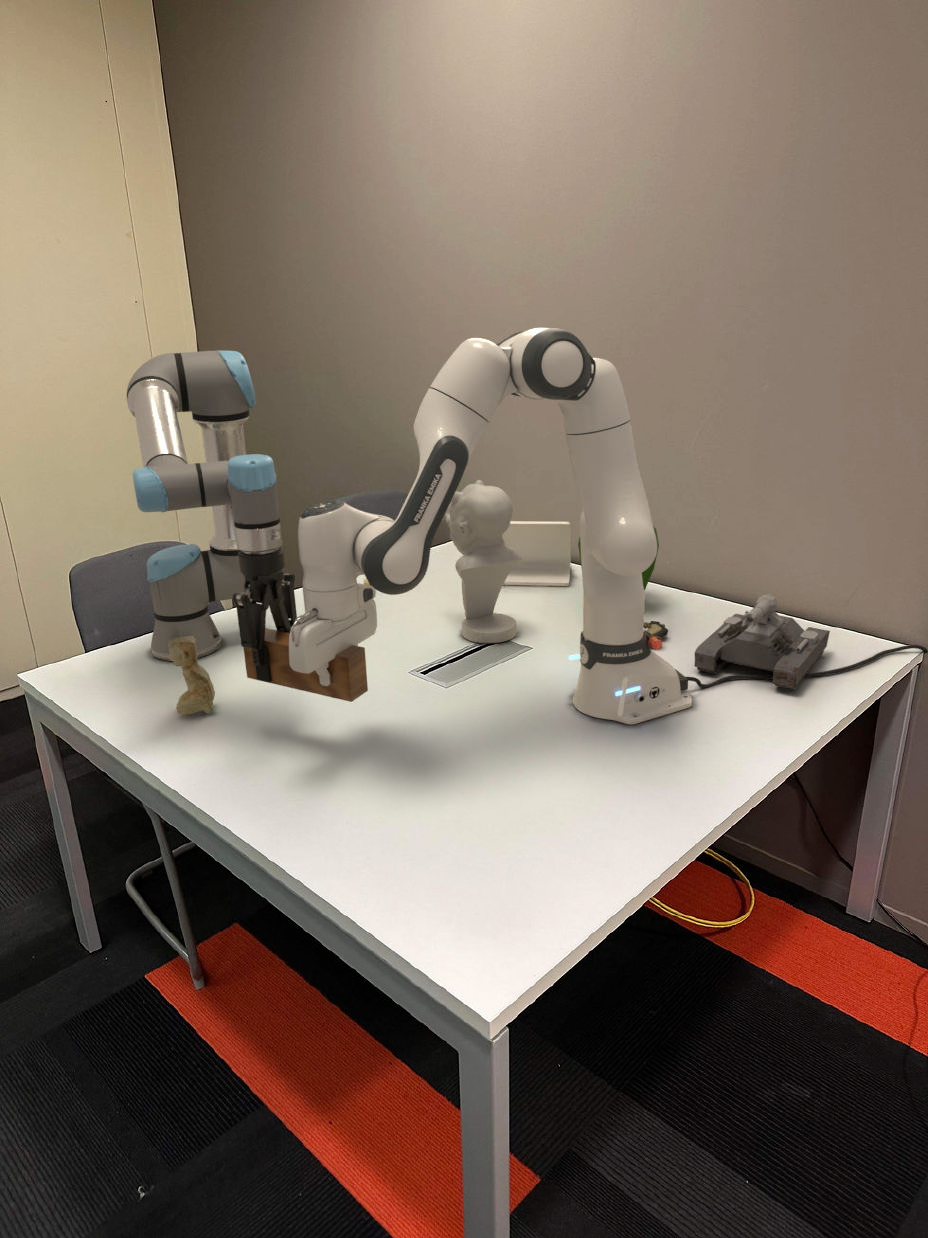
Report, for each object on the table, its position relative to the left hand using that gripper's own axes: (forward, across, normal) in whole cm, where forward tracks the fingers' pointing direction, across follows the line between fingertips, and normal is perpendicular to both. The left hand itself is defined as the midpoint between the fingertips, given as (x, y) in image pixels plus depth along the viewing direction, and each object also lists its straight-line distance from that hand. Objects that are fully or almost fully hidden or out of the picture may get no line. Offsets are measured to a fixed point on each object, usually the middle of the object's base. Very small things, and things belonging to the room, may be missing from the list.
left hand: (274, 674), depth 152 cm
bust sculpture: (+12, +59, -9) cm, 61 cm away
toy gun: (+12, +85, +32) cm, 91 cm away
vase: (+12, +89, -33) cm, 96 cm away
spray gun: (+12, +69, -43) cm, 82 cm away
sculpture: (+12, -1, +20) cm, 23 cm away
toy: (+11, +67, -72) cm, 100 cm away
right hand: (-2, 0, -14) cm, 14 cm away
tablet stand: (+12, +102, -2) cm, 103 cm away
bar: (+1, 0, -7) cm, 7 cm away
